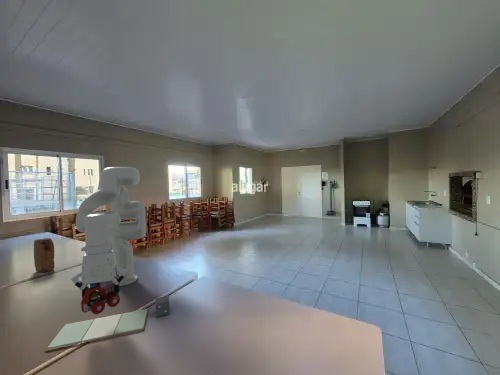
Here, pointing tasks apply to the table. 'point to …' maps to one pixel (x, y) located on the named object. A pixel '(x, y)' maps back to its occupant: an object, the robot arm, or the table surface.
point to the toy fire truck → (98, 303)
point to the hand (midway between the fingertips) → (101, 297)
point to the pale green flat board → (101, 328)
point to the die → (162, 306)
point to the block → (44, 255)
